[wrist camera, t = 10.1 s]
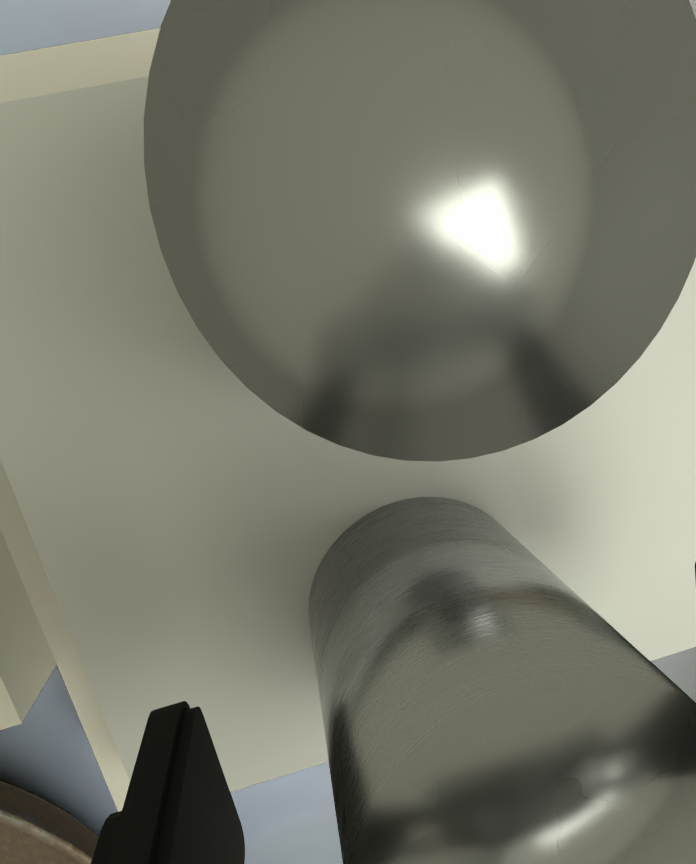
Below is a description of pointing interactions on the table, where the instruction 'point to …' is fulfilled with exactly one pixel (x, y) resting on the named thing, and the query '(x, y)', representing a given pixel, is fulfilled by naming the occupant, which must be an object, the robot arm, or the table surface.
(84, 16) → the table surface
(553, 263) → the ball
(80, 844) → the plant saucer
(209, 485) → the scale
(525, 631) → the cylinder
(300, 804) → the table surface
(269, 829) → the table surface
